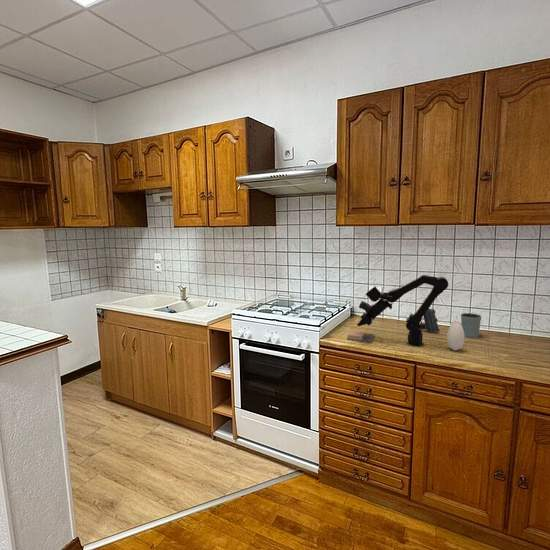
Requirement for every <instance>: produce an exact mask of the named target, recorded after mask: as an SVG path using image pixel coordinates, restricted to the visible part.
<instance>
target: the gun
mask: <svg viewBox="0 0 550 550" xmlns="http://www.w3.org/2000/svg"><path fill="white" fill-rule="evenodd" d="M422 319H423V320H422ZM422 319H421V321H420V324H419V325H420V326H421V327H422V330H426V331H427V332H428V333H438V332H440V331H441V329H439V326H438V318H437V317H436V309H434V308H429V309H428V310H427V311H426V313H425V314H424V315H423V317H422Z"/></svg>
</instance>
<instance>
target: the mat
mask: <svg viewBox="0 0 550 550" xmlns="http://www.w3.org/2000/svg"><path fill="white" fill-rule="evenodd" d="M346 338H347V341H352V342H353V341H355V342H363V343H370V344H371V343H372V342H373V339H374V338H375V335H374V334H368V333H367V334H366V333H365V336H364V338H363V339H362V340H358V339H349V338H348V337H346Z"/></svg>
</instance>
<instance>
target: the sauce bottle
mask: <svg viewBox="0 0 550 550" xmlns="http://www.w3.org/2000/svg"><path fill="white" fill-rule="evenodd" d="M455 317H456V318H455V319H453V322H452V323H451V324H450V326H448V327H449V328H448V329H447V335H446V342H447V345H448V347H449V348H450V349H451V350H452V351H458V350H460V349H462V348H463V346H464V343H465V337H464V330H463V327H462V325H461V322H460V321H461V320H459V319H458V315H456V316H455Z"/></svg>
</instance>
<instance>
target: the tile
mask: <svg viewBox="0 0 550 550" xmlns="http://www.w3.org/2000/svg"><path fill="white" fill-rule="evenodd" d="M365 334H366V331H365V330H364V331H363V330H355V329H350V331H349V332H348V333H347V338H349V339H358V340H362V339H363V338H364V336H365Z"/></svg>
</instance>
